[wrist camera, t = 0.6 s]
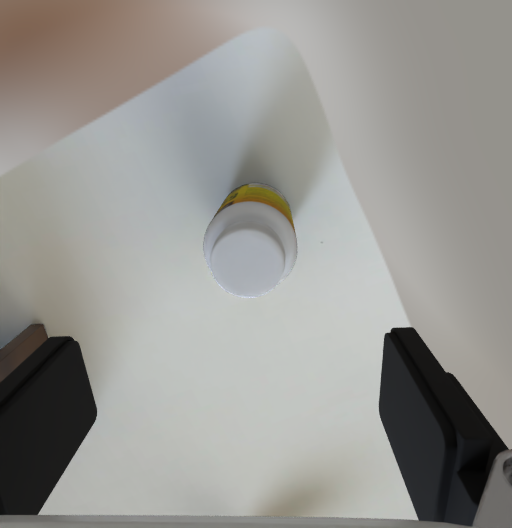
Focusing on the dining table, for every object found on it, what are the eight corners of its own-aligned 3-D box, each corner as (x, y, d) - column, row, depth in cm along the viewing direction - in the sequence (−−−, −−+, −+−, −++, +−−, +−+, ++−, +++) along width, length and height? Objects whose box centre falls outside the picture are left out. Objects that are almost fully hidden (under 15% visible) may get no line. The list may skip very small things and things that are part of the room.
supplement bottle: (237, 169, 27) (218, 193, 17) (303, 200, 27) (320, 239, 18) (210, 234, 28) (179, 288, 19) (272, 261, 29) (272, 327, 20)
